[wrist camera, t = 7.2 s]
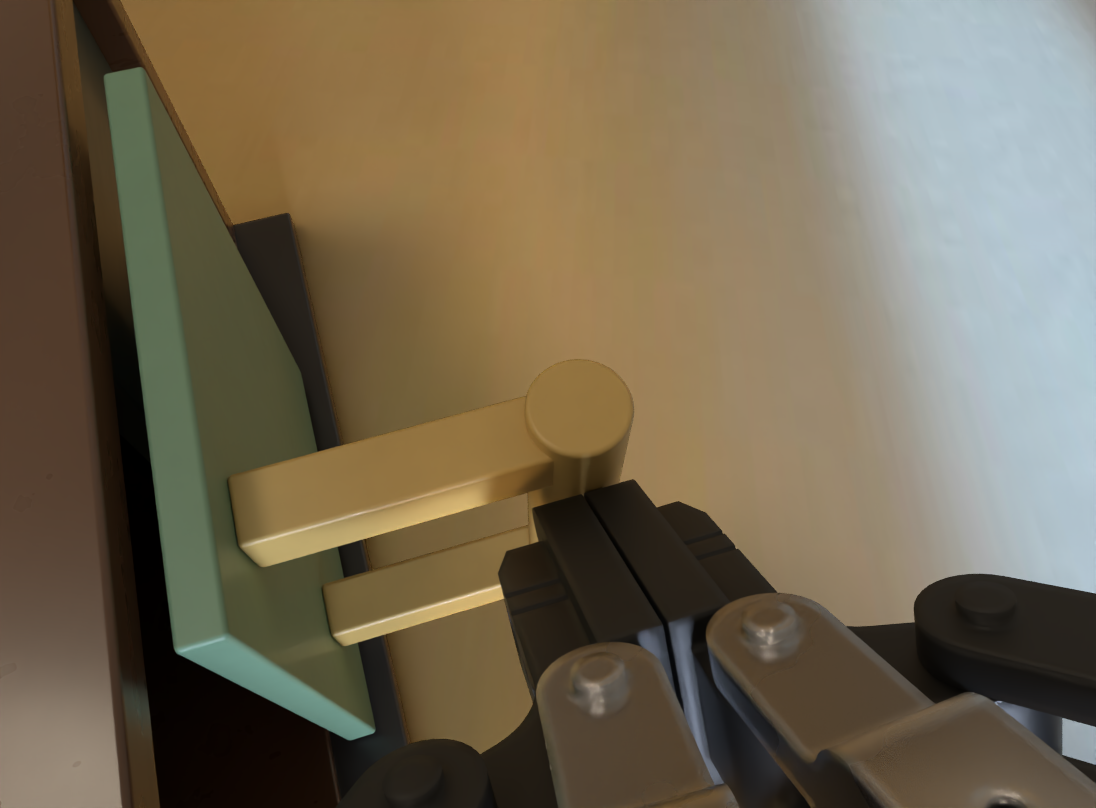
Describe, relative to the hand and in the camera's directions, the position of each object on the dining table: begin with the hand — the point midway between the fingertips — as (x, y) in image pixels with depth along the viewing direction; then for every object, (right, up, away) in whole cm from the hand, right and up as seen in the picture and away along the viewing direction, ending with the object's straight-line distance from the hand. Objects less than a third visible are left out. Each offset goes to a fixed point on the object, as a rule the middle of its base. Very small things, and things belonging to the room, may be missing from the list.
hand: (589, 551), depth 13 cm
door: (-3, 0, +7) cm, 8 cm away
